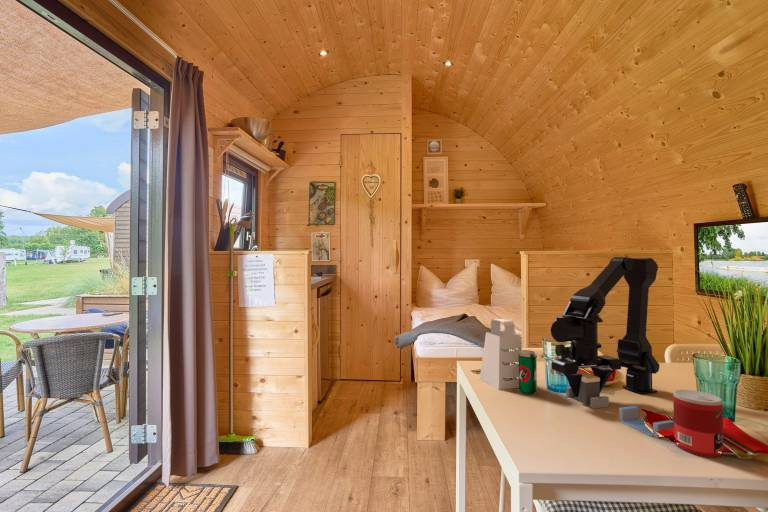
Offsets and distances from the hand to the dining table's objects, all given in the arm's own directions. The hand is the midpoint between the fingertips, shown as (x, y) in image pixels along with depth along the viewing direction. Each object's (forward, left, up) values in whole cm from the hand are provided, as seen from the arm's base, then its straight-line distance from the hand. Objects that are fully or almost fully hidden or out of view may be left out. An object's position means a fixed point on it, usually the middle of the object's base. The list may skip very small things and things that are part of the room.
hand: (586, 395), depth 109 cm
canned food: (-1, +29, -2) cm, 29 cm away
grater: (+13, -21, -2) cm, 25 cm away
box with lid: (0, 0, -2) cm, 2 cm away
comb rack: (0, +9, -2) cm, 9 cm away
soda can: (+11, -11, -2) cm, 16 cm away
